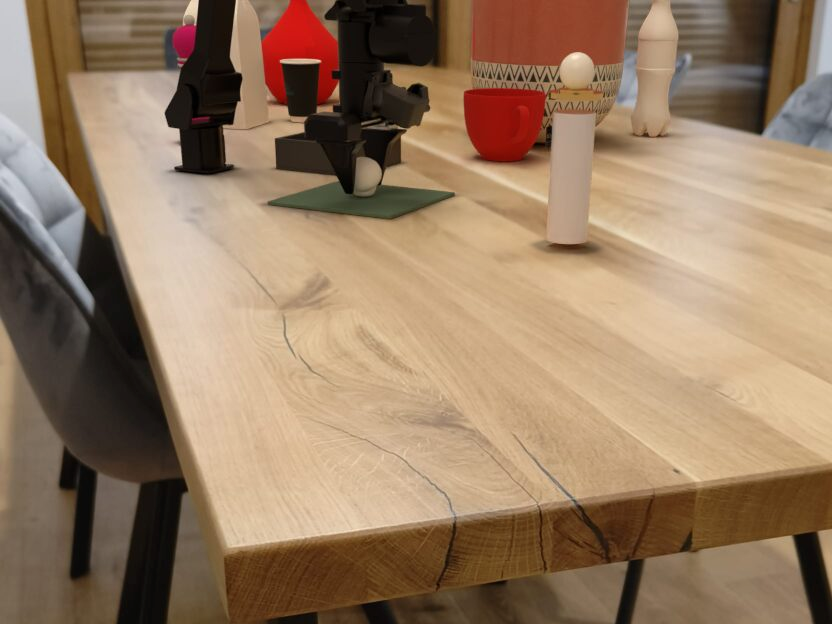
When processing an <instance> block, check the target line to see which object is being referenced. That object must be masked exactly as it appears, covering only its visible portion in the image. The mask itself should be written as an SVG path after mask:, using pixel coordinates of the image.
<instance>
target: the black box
mask: <svg viewBox="0 0 832 624" xmlns="http://www.w3.org/2000/svg"><path fill="white" fill-rule="evenodd" d="M358 139H361V137H360V136H359V138H358ZM274 152H275V155H274V156H275V169H276V170H285V171H294V172H303V173H313V174H314V173H315V174H321V175H323V174H324V175H331V176H332V175H333V176H336V174H335V172H334V170H333V168H332V166H331V164H330V162H329V160H328V158H327V156H326V155H325V153H324V151H323V150H322V148H321V146H320V144H318V143H316V142H315V139H310V138H305V133H304V131H303V132H298V133H293V134H288V135H284V136H279V137H275V138H274ZM358 157H365V153H364V149H363V146H362V147H361V148H360V149H359V151H358V152H357V158H358ZM400 163H402V136H400V137H399V138H398V139H397V140H396V141H395V142H394V144H393V146H392V149H391V152H390V155H389V159H388V162H387V166H386V167H389V166H393V165H396V164H400Z"/></svg>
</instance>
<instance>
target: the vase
mask: <svg viewBox="0 0 832 624" xmlns="http://www.w3.org/2000/svg"><path fill="white" fill-rule="evenodd" d="M261 46H262V56H263V65H264V75H265V85H266V88H267V89H268V90H269V92H270V94H271V95H272V96H273V97H274V98H275V99H276V100H277V102H279V103H280V104H283V105H287V99H286V92H285V86H284V79H283V72H282V65H281V63H280V60H284V59H316V60H321V63H320V70H319V85H318V100H317V105H323V104H324V103H326V102H327V101H328V100H329V99H330V98H331V97H332V95H333V93H334V92H335V90H336V88H337V86H338V85H339V79H332V70H338V39H337V38H335V37H334V36H333V34H331V32H330V31H329V30H328V29H327V28H326V26H324V24H323V23H322V22H321V20H320V19H319V18H318V16H317V15H316V14H315V13H314V11H313V10H312V9H311V7H310V5H309V3H308V1H307V0H289V3H288V6H287V8H286V9H285V11H284V12H283V13H282V15H281V16H280V17H279V19H278V20H277V22H276V23H275V25H274V26H273V28H271V30H270V31H269V32H268V33H267V35H266V36H265V37H264V38H263V39H262V40H261Z"/></svg>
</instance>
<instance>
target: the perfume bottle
mask: <svg viewBox="0 0 832 624" xmlns="http://www.w3.org/2000/svg"><path fill="white" fill-rule="evenodd" d="M594 72H595V68H594V64H593V61H592V60H591V58H590V57H589V56H588V55H586V54H584V53H581V52H574V53H571V54H569V55H568V56H567V57H565V59H564V60H563V61H562V63H561V66H560V70H559V74H560V79H561V81H562V83H563V84H564V85H565V86H566V88H559V89H556V90H549V91H548V97H549V98H552V99H559V100H581V101H582V100H599V99H603V92H601V91H596V90H594V89H590V88H586V87H587V86H588V85H589V84H590V83H591V81H592V80H593V77H594ZM595 122H596V112H594V111H589V110H576V109H564V110H555V111H553V118H552V126H548V127H546V142H548V143H546V142H545V143H544V145H545V148H547V151H549V150H550V158H549V178H548V194H547V195H548V197H547V214H546V233H545V240H546V241H547V242H549V243H554V244H560V245H561V244H562V245H579V244H584V243H587V242H588V236H589V220H590V209H591V207H590V206H591V194H592V193H591V192H592V179H593V178H592V177H593V166H594V165H593V163H594V151H595V150H594V148H595V134H596V127H595ZM547 135H549V138H548V137H547ZM550 136H551V137H550ZM549 141H550V142H549ZM549 145H550V148H549Z"/></svg>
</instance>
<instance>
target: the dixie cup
mask: <svg viewBox="0 0 832 624" xmlns="http://www.w3.org/2000/svg"><path fill="white" fill-rule="evenodd" d="M280 63H281V65H282V72H283V79H284V86H285V92H286V99H287V104H286V105H287V110H288V111H287V113H288V116H289V118H290V122H294V123H304V121H305V120H306V119H307V117H308V116H309V115H310V114H314V113H318V104H317V100H318V85H319V70H320V63H321V60H316V59H284V60H280Z"/></svg>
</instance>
